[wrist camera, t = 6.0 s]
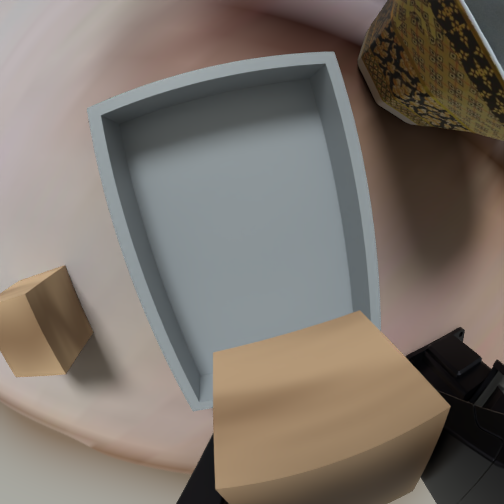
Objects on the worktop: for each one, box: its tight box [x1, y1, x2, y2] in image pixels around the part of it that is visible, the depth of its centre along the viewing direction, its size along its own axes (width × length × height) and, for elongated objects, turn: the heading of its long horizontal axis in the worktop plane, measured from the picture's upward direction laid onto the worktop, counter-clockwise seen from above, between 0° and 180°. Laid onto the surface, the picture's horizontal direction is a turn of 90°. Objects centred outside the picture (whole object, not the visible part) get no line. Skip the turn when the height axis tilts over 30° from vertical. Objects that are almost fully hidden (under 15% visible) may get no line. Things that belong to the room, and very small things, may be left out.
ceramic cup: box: [358, 0, 504, 141], centre depth 8 cm, size 13×10×10 cm
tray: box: [87, 52, 381, 411], centre depth 13 cm, size 16×11×3 cm
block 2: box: [213, 310, 451, 504], centre depth 6 cm, size 4×4×4 cm
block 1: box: [0, 266, 93, 377], centre depth 12 cm, size 4×4×4 cm
